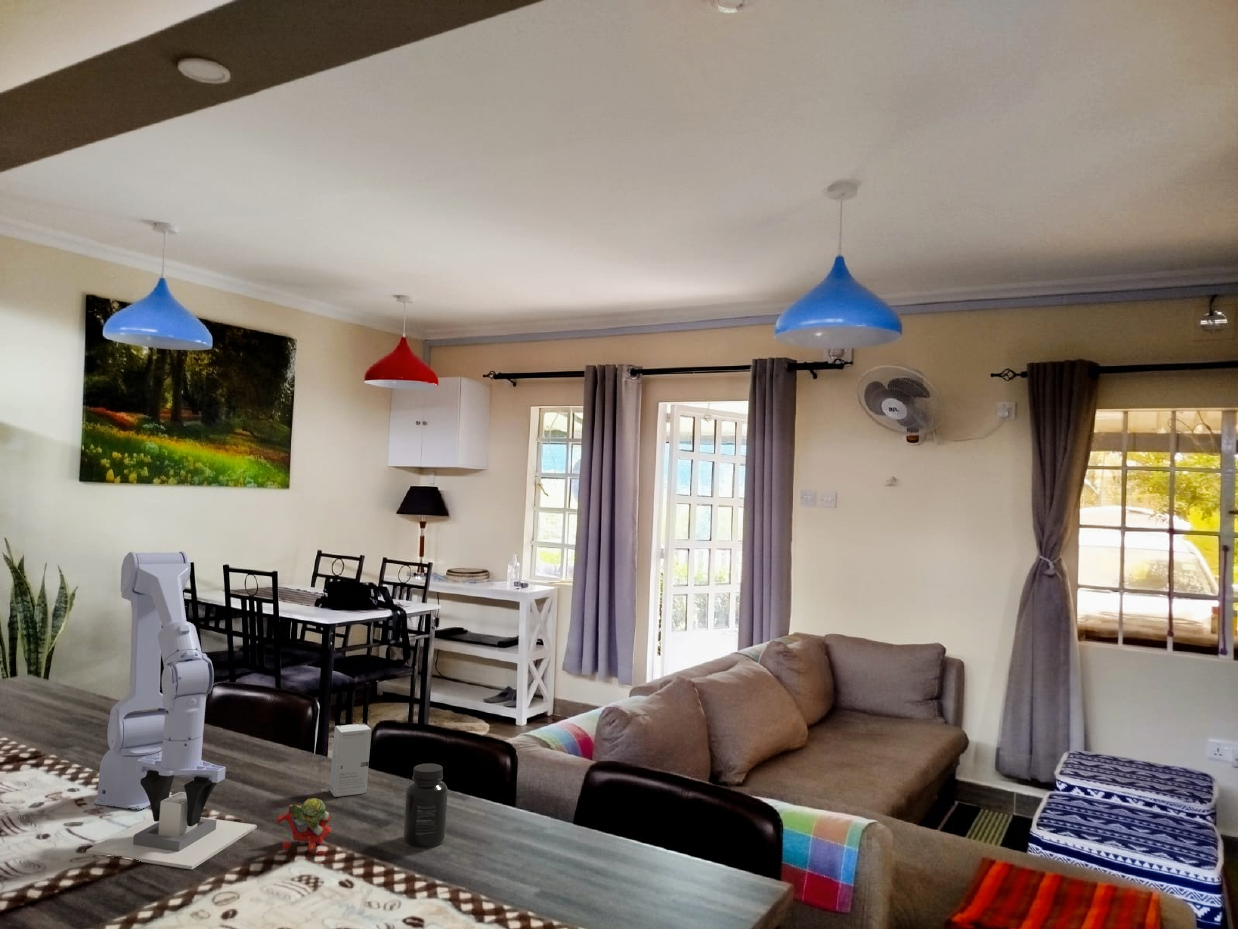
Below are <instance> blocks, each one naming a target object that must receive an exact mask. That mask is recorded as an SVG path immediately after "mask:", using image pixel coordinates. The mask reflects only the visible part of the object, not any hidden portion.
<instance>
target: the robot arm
mask: <svg viewBox="0 0 1238 929" xmlns="http://www.w3.org/2000/svg"><path fill="white" fill-rule="evenodd" d="M191 568H192V567H191V559H190V557H189V555H188V553H186V552H185V551H179V552H134V551H129V552H127V554H126V555H125V556H124V558H123V560H122V564H121V570H120V593H121V598H122V599H125V600H128V601H129V602H130V604H131V605H130V606H131V629H130V630H131V631H130V637H131V638H130V661H129V667H130V669H129V691H128V694H127V695H125V697H123V698H122V699H120V700H119V701H117V703H115V704H114V705H113V706H112V707H111V710H110V711H109V712H110V715H109V721H108V724H107V730H106V731H107V732H106V733H107V738H106V739H107V745H108V747H109V750H107V752H106V753H105V754H104V755H103V757H102V759H101V761H100V765H99V771H98V782H97V783H98V784H97V797H96V799H95V800H93V804H94V805H100V804H103V805H102V806H107V805H108V807H114V806H115V807H116V808H120V809H121V808H123V809H128V808H132V809H131V810H135V809H137V810H136V811H140V810H141V809H142V810H144V809H146V808H147V807H149V805H150V809H151V812H152V816H153V819H154V821H156V822H158V821H159V818H160V805H161V801H163V800H165V799H167V798H169V797H170V796H172V792H171V789H172V785H173V783H174V778H175V776H176V777H185V778H189V779H193V780H191V781H189V782H187V783H185V784H184V786H183V787H184V790H185V793H186V796H187V804H188V810H187V825H188V826H194V825H195V824H197V823H199V822H200V819H201V817H202V815H203V812H204V808H205V806H206V804H207V802H208V799H209V798H210V796H211V793H212V791H213V790H214V788H215V787H216V785H217V784H218V783H219V782H221V781H223V780H225V778H226V770H227V769H226V766H224V765H219V764H218V765H217V764H215V763H211V762H209V761H206V760H203V759H202V752H203V743H204V738H203V737H204V726H205V717H206V716H205V715H206V713H205V712H206V703H207V702H206V701H207V695H208V694H209V695H210V694H211V692H212V690H213V686H214V679H215V677H214V676H215V674H214V667H213V663H212V660H211V659H210V658H209V657H208V654H206V653H205V652H204V653H203V652H202V648H201V644H200V640H199V636H198V633H197V628H196V626H195V625H194V623H191V622H190V621H187V617H186V608H185V601H184V600H185V599H184V592H183V591H184V590H185V589H186V587H187V583H188V581H189V579H190V575H191ZM161 659H162V663H163V671H162V674H161ZM160 690H162V691H161V692H160ZM140 711H141V712H140ZM169 795H170V796H169ZM143 808H144V809H143ZM142 810H141V811H142Z"/></svg>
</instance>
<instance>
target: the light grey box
mask: <svg viewBox="0 0 1238 929" xmlns="http://www.w3.org/2000/svg"><path fill="white" fill-rule="evenodd" d="M187 810H188V804H187V796H186V792H183V791H179V792H177V793H174V794H173V795H170V796H169V798H167V799H165V800H163V801H161V805H160V818H159V831H158V835H164V836H171V837H177V838H178V837H180V836H182V835H184V834H185V833H187V832H189V831H190V830H192V829H194V828H196V827H197V824H195V825H194V826H188V825H187Z"/></svg>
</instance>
